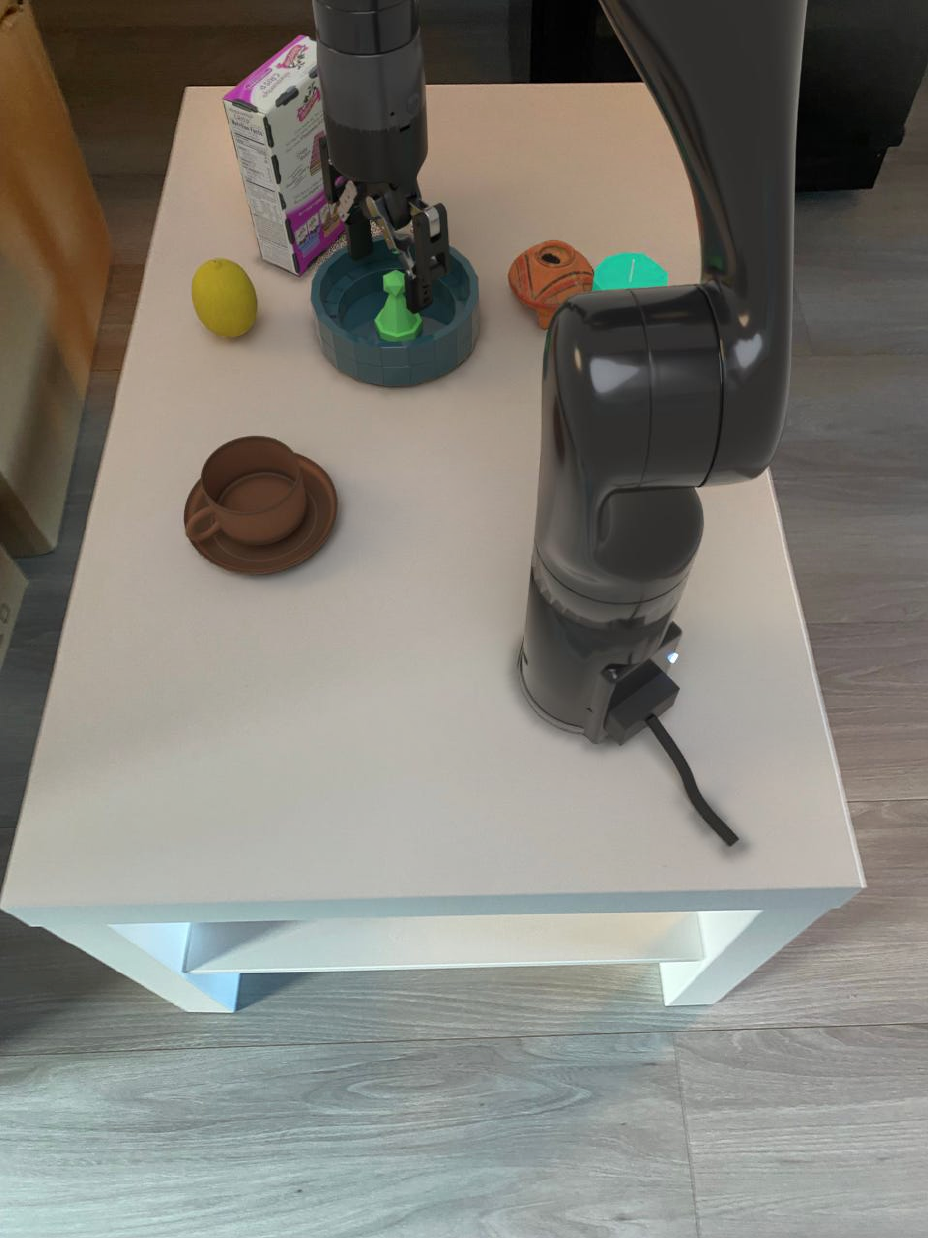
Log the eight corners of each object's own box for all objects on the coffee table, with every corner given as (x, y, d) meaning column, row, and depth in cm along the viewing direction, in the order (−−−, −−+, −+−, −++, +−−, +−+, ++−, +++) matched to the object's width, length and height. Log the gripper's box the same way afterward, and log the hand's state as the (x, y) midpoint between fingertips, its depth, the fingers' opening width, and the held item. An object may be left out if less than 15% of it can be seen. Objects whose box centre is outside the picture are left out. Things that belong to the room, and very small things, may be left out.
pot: (486, 315, 87) (495, 244, 83) (532, 286, 92) (544, 217, 87) (558, 349, 85) (573, 278, 80) (602, 318, 89) (618, 249, 85)
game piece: (400, 303, 88) (396, 248, 83) (432, 326, 86) (429, 272, 81) (365, 326, 86) (358, 272, 81) (397, 350, 85) (392, 296, 80)
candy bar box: (325, 198, 97) (299, 30, 83) (365, 214, 95) (346, 46, 81) (257, 261, 92) (218, 94, 78) (298, 279, 91) (266, 112, 77)
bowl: (510, 341, 86) (512, 297, 82) (379, 415, 82) (374, 373, 77) (415, 257, 92) (413, 212, 88) (288, 322, 88) (278, 277, 83)
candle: (610, 408, 82) (630, 297, 72) (566, 368, 84) (579, 254, 74) (662, 378, 84) (688, 265, 73) (617, 339, 86) (637, 224, 76)
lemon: (254, 359, 85) (235, 287, 78) (195, 351, 86) (171, 278, 79) (272, 317, 88) (255, 244, 81) (216, 309, 89) (194, 236, 82)
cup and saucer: (282, 609, 72) (267, 563, 66) (158, 545, 75) (134, 496, 70) (369, 500, 77) (361, 449, 72) (250, 443, 80) (234, 391, 75)
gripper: (275, 69, 70) (307, 257, 83) (389, 160, 64) (403, 346, 77) (359, 35, 72) (377, 223, 86) (476, 120, 66) (475, 307, 80)
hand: (390, 281), depth 82 cm, fingers open, 8 cm apart
